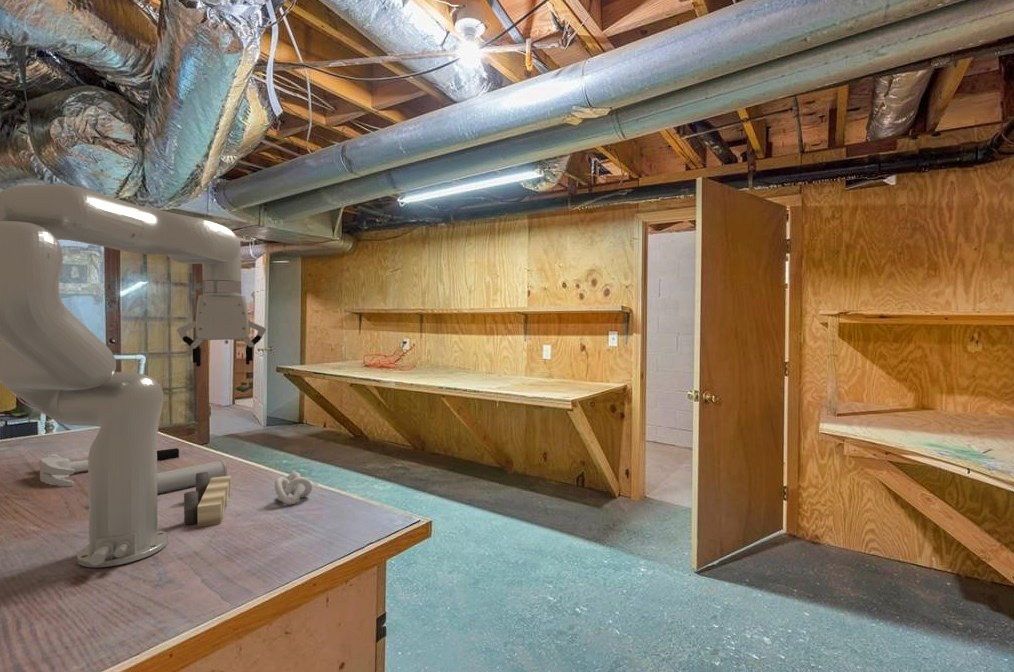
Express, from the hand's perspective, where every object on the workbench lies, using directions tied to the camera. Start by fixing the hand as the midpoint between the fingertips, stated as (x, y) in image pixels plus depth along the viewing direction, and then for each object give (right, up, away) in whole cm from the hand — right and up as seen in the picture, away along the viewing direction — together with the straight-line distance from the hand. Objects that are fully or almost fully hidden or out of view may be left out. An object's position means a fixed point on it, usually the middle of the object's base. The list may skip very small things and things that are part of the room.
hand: (223, 365), depth 110 cm
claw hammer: (-44, -31, +24) cm, 59 cm away
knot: (+15, -31, +1) cm, 35 cm away
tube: (-18, -31, +7) cm, 36 cm away
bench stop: (-1, -31, -5) cm, 31 cm away
